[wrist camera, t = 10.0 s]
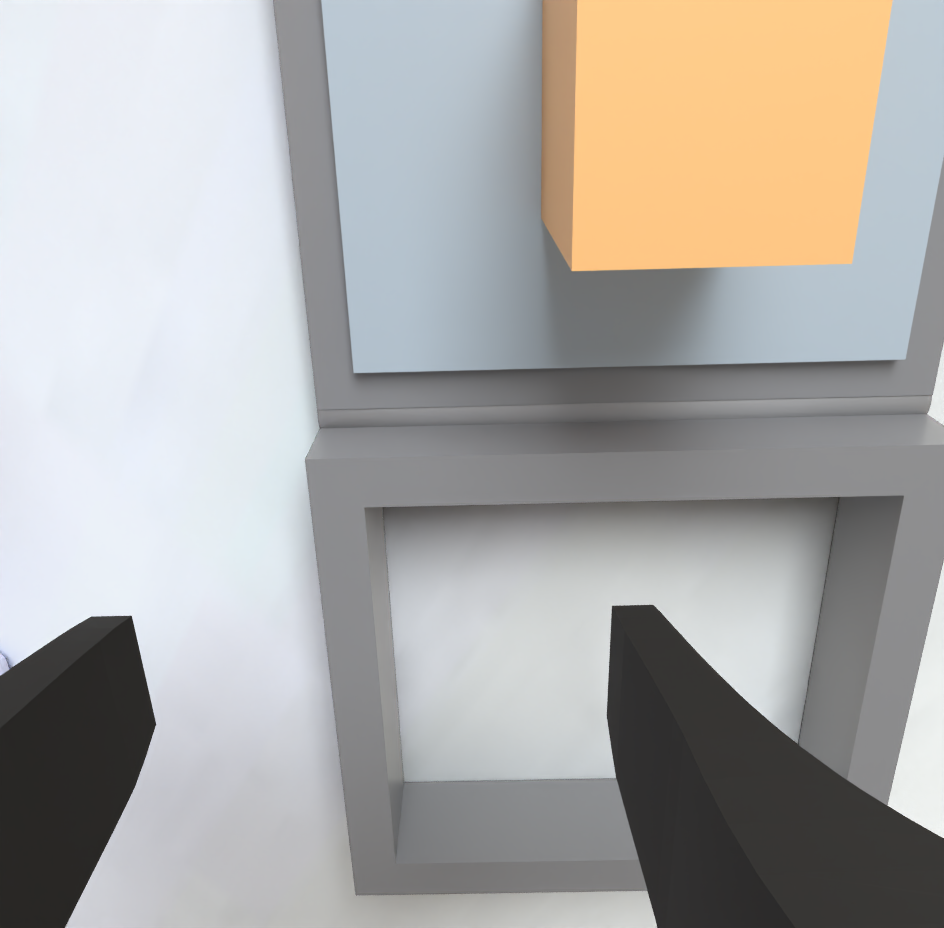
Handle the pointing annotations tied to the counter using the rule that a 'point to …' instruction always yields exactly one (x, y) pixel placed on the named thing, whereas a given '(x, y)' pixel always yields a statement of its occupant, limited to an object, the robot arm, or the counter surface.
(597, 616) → the counter surface
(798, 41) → the block
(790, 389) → the grey framed tray
